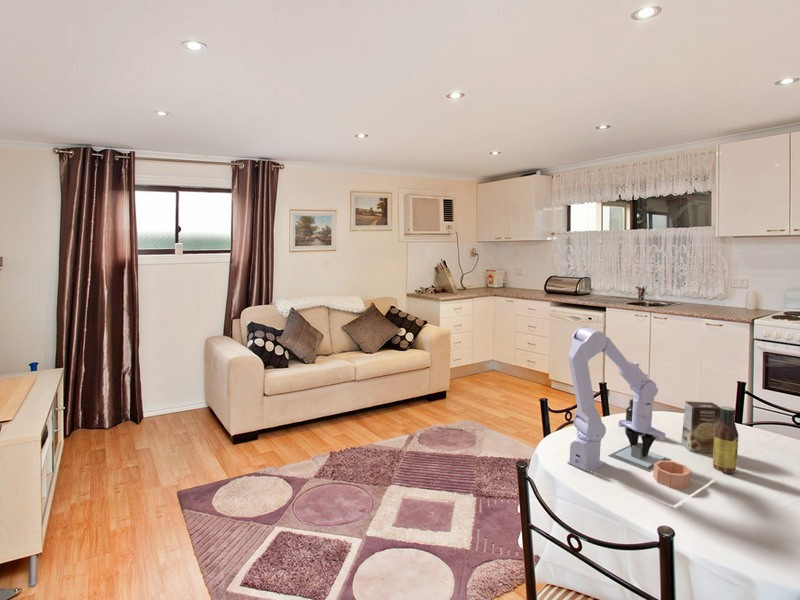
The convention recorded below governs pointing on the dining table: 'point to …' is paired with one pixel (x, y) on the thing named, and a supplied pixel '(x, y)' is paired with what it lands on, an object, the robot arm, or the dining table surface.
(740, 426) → the dining table surface
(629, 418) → the supplement bottle
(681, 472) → the bowl
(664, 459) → the mat
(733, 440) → the sauce bottle
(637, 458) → the cover
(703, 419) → the coffee box
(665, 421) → the dining table surface
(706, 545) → the dining table surface
